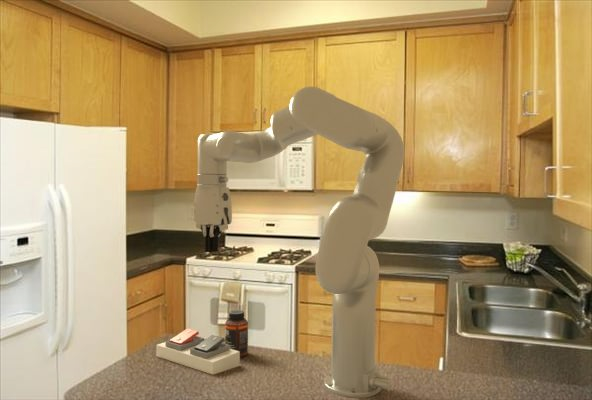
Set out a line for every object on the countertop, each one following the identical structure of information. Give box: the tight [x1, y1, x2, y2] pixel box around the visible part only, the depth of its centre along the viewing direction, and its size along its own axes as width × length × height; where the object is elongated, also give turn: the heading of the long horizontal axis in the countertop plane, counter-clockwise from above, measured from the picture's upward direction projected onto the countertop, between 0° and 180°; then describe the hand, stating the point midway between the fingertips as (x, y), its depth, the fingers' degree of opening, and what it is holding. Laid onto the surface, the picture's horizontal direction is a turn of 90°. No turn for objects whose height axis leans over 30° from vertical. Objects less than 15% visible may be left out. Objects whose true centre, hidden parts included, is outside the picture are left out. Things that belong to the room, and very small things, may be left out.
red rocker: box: [169, 327, 200, 345], centre depth 117 cm, size 4×6×2 cm, turn 145°
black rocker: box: [195, 334, 225, 353], centre depth 111 cm, size 4×6×2 cm, turn 145°
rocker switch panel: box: [155, 335, 241, 375], centre depth 114 cm, size 20×9×5 cm, turn 55°
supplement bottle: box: [224, 309, 249, 358], centre depth 121 cm, size 6×6×11 cm
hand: (211, 251), depth 121 cm, fingers closed
